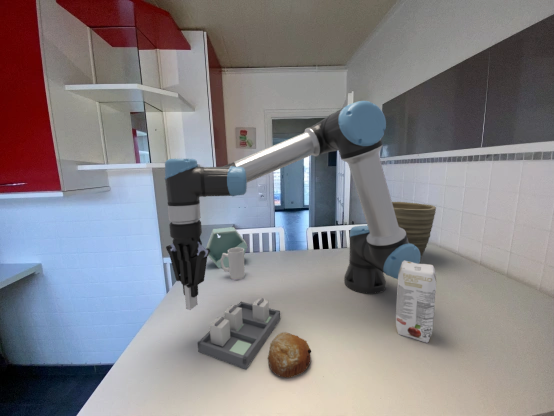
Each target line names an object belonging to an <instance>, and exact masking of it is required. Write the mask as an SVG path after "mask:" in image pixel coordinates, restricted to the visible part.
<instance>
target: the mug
mask: <svg viewBox="0 0 554 416" xmlns="http://www.w3.org/2000/svg"><path fill="white" fill-rule="evenodd" d="M225 257H228V259H229V267H225V266H224V264H223V259H224V258H225ZM221 266H222V268H221V269H222V270H223V272H225V273H227V272H228V273H229V278H230V279H231V280H234V281H237V280H243V279H245V276H246V275H245V274H246V273H245V254H244V249H243V248H231V249H229V250H228V254H226V253H223V255H222V257H221Z"/></svg>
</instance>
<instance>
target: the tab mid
mask: <svg viewBox="0 0 554 416" xmlns="http://www.w3.org/2000/svg"><path fill="white" fill-rule="evenodd" d="M237 305H238V304H234V305H230V306H229V307H228V308H227V309H225V310H224V312H223V317H224V319H226V320H229V324H230V329H232V330H236V331H237V330H238V329H239V328H240V327H241V325H242V324H243V321H242V308H240V307H237Z"/></svg>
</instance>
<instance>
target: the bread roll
mask: <svg viewBox="0 0 554 416" xmlns="http://www.w3.org/2000/svg"><path fill="white" fill-rule="evenodd" d="M307 342H308V341H307V340H305V339H304V338H301V337H300V336H298V335H295V334H292V333H289V332H286V331H285V332H280V333H279V334H277V335H276V336H275V338H273V340H272V341H271V342H270V344H269V352H268V355H267V361H268V366H269V368H270V370H271V371H272V373H274V374H275V375H276V376H278V377H281V378H285V379H286V378H287V379H289V378H293V377H296V376H298V375H301V374H303V373H304V372H305V371H306V370H307V369H308V368H309V366H310V363H311V354H312V350H311V348H310V345H309V344H308V343H307Z"/></svg>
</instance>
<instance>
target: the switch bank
mask: <svg viewBox="0 0 554 416" xmlns="http://www.w3.org/2000/svg"><path fill="white" fill-rule="evenodd" d="M236 305H237V307H240V308H242V321H243V324H242V325H241V327H240V328H239V329H238V330H237V331H236V330H232V329H230V339H229V340H228V341H227V342H226V343H225V344H224V346H223V347H222V346H219V345H216V344H213V343H211V337H210V330H209V331H208V332H207V333H206V334H205V335H204V336H203V337H202V338H201V339H200V340H198V341H197V350H198V352H199V353H200V354H203V355H206V356H208V357H212V358H214V359H217V360H219V361H223V362H225V363H228V364H231V365H233V366H235V367H238V368H241V369H244V370H247V369H248V367H249V366H250V364H251V363H252V361H253V360H254V358H255V357H256V356H257V354H258V353H259V351H260V350H261V348H262V347H263V345H264V344H265V342H266V341H267V339H268V338H269V337H270V335H271V334H272V332H273V331H274V329H275V328H276V326H277V325H278V323H279V322H280V320H281V310H278V309H274V308H271V307H269V317H268V319H267V320H266V321H265V322H262V321H258V320H254V319H253V307H252V303H248V302H244V301H240V302H239V303H237V304H236Z"/></svg>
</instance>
